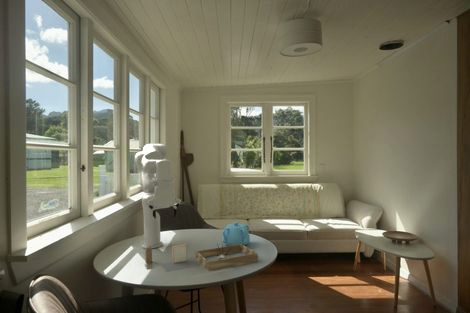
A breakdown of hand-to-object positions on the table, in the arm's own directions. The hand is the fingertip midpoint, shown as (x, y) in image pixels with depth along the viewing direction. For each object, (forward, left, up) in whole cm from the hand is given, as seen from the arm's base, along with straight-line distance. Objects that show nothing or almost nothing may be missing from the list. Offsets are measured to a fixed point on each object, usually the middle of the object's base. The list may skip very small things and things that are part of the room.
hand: (164, 217), depth 149 cm
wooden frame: (+14, +28, -23) cm, 38 cm away
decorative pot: (-7, +44, -23) cm, 50 cm away
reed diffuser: (+12, +28, -23) cm, 38 cm away
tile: (+6, +6, -22) cm, 23 cm away
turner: (+3, -8, -23) cm, 24 cm away
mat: (+10, +5, -23) cm, 25 cm away
